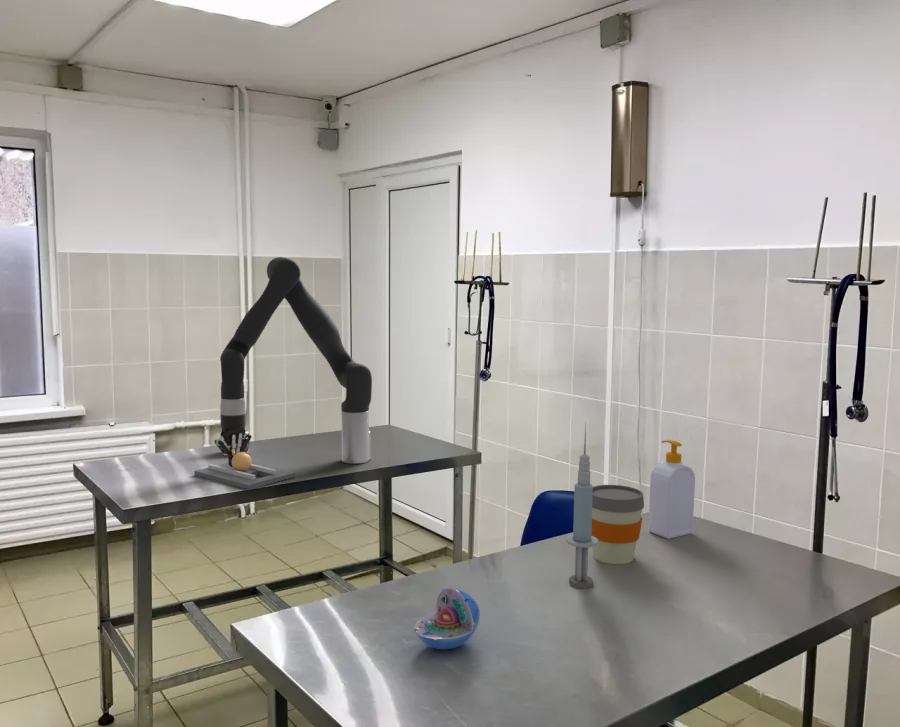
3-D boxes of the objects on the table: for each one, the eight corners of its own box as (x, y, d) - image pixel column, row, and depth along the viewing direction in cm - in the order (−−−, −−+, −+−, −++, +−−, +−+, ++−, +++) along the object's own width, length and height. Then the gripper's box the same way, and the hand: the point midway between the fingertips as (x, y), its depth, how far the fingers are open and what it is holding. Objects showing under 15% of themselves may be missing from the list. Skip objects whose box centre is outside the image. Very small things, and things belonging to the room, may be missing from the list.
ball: (241, 459, 242) (247, 446, 239) (251, 472, 239) (257, 459, 236) (225, 464, 237) (231, 450, 234) (236, 477, 235) (242, 463, 232)
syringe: (597, 589, 154) (601, 419, 150) (565, 587, 155) (568, 418, 151) (596, 578, 159) (599, 415, 156) (565, 577, 160) (568, 414, 157)
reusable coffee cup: (575, 559, 170) (577, 493, 168) (598, 543, 180) (600, 481, 179) (629, 571, 163) (632, 503, 161) (650, 554, 173) (652, 490, 172)
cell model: (401, 645, 130) (401, 591, 129) (455, 625, 137) (455, 574, 136) (438, 668, 122) (439, 611, 121) (493, 645, 130) (493, 592, 129)
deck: (241, 464, 252) (241, 456, 251) (295, 477, 236) (295, 468, 236) (194, 475, 237) (194, 467, 237) (248, 490, 222) (248, 480, 222)
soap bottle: (671, 525, 194) (675, 436, 191) (692, 533, 188) (697, 442, 185) (645, 531, 189) (649, 440, 187) (666, 539, 183) (670, 446, 181)
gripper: (222, 416, 230) (223, 472, 232) (257, 411, 240) (258, 464, 242) (207, 413, 234) (208, 468, 236) (242, 408, 245) (243, 460, 247)
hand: (233, 466), depth 239 cm, fingers closed
